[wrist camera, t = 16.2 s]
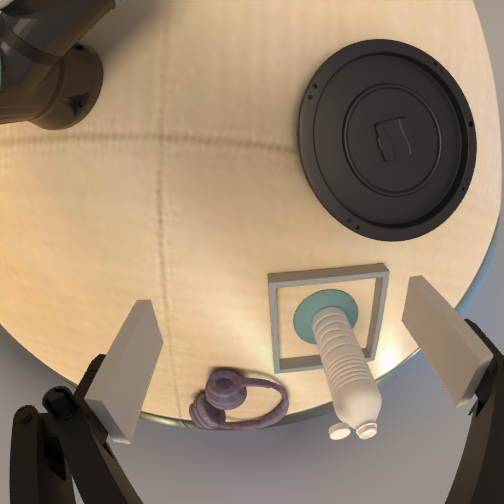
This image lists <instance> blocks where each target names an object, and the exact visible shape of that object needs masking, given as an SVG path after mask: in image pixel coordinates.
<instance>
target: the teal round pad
mask: <svg viewBox="0 0 504 504" xmlns="http://www.w3.org/2000/svg"><path fill="white" fill-rule="evenodd" d="M327 307H336V308H340V309H341V310H342V311H343V312H344V313H345V315H346V317H347V319H348V322H349V324H350V326H351V329H352V328H353V327H354V325H355V323H356V321H357V317H358V308H357V305H356V303H355V301H354V300H353V298H352V297H351V296H350V295H348V294H347V293H345V292H343V291H340V290H332V289H331V290H323V291H319V292H316V293H314V294H312V295H310V296H309V297H307V298H306V299H305V300H304V301H303V302H302V303H301V304H300V305H299V306H298V308H297V310H296V312H295V314H294V320H293V322H294V328H295V331H296V333H297V334H298V336H299V337H300V338H301V339H303V340H304V341H306V342H308V343H311V344H317V343H316V340H315V336H314V333H313V330H312V326H311V323H312V319H313V317H314V315H315V314H317V312H318V311H319V310H321V309H323V308H327Z"/></svg>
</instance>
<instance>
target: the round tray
mask: <svg viewBox="0 0 504 504" xmlns="http://www.w3.org/2000/svg"><path fill="white" fill-rule="evenodd" d="M297 143H298V151H299V156H300V160H301V164H302V167H303V170H304V173H305V176H306V178H307V181H308V183H309V185H310V187H311V188H312V190H313V192H314V194H315V195H316V197H317V198H318V200H319V201H320V203H321V204H322V205H323V206H324V208H325V209H326V210H327V211H328V212H329V213H330V214H331V215H332V216H333V217H334V218H335V219H336V220H337V221H339V222H340V223H341V224H342V225H344V226H345V227H347V228H348V229H350V230H352V231H354V232H355V233H357V234H360V235H362V236H365V237H367V238H371V239H375V240H380V241H390V242H392V241H405V240H410V239H414V238H417V237H420V236H422V235H425V234H427V233H429V232H430V231H432V230H434V229H435V228H437V227H438V226H440V225H441V224H442V223H443V222H445V221H446V220H447V219H448V218H449V217H450V216H451V215H452V214H453V212H454V211H455V210H456V209H457V207H458V206H459V204H460V203H461V201H462V200H463V198H464V196H465V194H466V192H467V190H468V188H469V185H470V183H471V180H472V176H473V173H474V168H475V163H476V153H477V141H476V131H475V125H474V120H473V116H472V113H471V110H470V107H469V104H468V102H467V100H466V98H465V96H464V94H463V92H462V90H461V88H460V87H459V85H458V84H457V82H456V81H455V79H454V78H453V77H452V75H451V74H450V73H449V72H448V71H447V70H446V69H445V68H444V67H443V66H442V65H441V64H440V63H439V62H438V61H437V60H435V59H434V58H433V57H431V56H430V55H429V54H427V53H425V52H424V51H422V50H420V49H418V48H416V47H414V46H412V45H409V44H406V43H403V42H399V41H394V40H388V39H372V40H365V41H360V42H357V43H354V44H351V45H349V46H346V47H344V48H343V49H341V50H339V51H338V52H336V53H335V54H333V55H332V56H331V57H329V58H328V59H327V60H326V61H325V62H324V63H323V64H322V65H321V66H320V67H319V69H318V70H317V71H316V72H315V74H314V75H313V77H312V78H311V80H310V82H309V84H308V86H307V88H306V90H305V92H304V95H303V98H302V101H301V104H300V108H299V113H298V121H297Z"/></svg>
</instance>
